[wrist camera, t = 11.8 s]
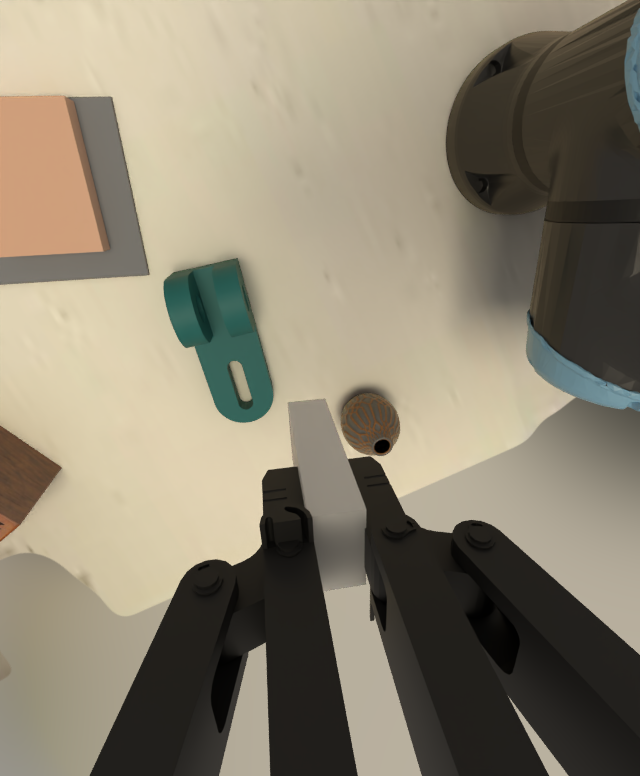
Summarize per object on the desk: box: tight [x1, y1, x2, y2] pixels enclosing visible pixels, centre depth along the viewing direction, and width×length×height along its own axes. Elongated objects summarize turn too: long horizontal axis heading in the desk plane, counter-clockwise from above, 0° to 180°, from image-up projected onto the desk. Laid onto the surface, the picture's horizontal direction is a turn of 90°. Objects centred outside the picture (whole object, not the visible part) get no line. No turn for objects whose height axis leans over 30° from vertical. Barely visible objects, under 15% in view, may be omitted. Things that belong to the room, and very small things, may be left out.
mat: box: [0, 97, 149, 285], centre depth 37 cm, size 15×15×1 cm
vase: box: [341, 393, 400, 456], centre depth 48 cm, size 7×7×9 cm
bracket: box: [164, 258, 273, 423], centre depth 42 cm, size 18×7×8 cm, turn 11°
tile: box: [0, 96, 110, 257], centre depth 36 cm, size 9×2×12 cm
